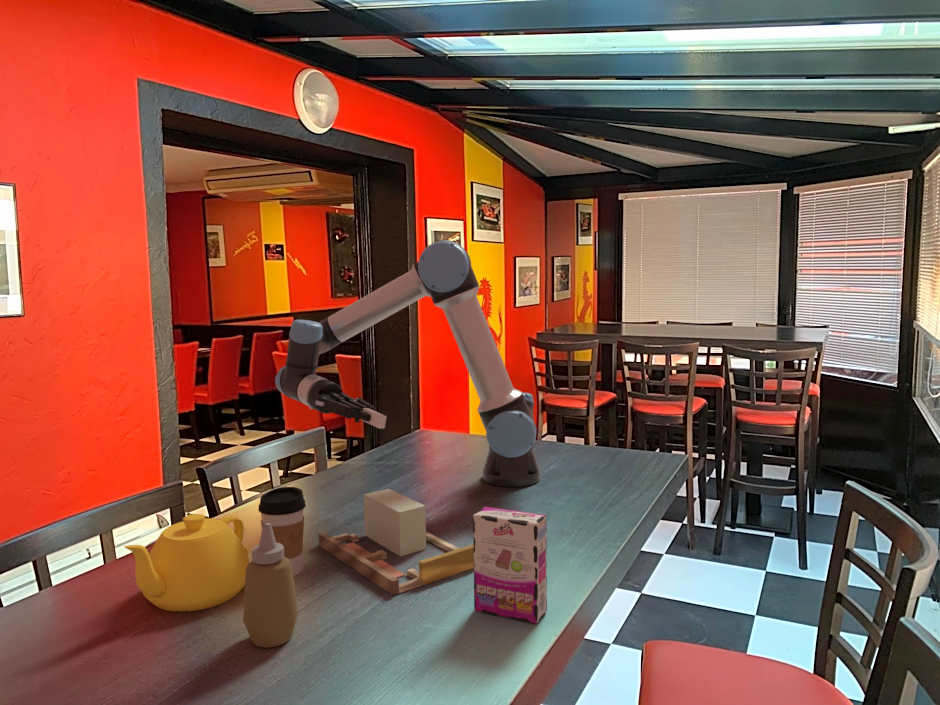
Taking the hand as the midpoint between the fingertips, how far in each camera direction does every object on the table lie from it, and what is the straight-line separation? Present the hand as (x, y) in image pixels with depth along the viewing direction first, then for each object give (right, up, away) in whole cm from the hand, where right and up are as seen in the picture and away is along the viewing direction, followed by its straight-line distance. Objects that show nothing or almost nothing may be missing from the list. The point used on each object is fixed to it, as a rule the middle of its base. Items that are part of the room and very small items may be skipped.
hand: (382, 422), depth 151 cm
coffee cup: (-16, -26, -20) cm, 36 cm away
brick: (+3, -24, -6) cm, 25 cm away
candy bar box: (+25, -28, -35) cm, 51 cm away
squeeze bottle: (-12, -29, -43) cm, 53 cm away
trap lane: (+4, -25, -12) cm, 28 cm away
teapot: (-29, -27, -28) cm, 49 cm away
